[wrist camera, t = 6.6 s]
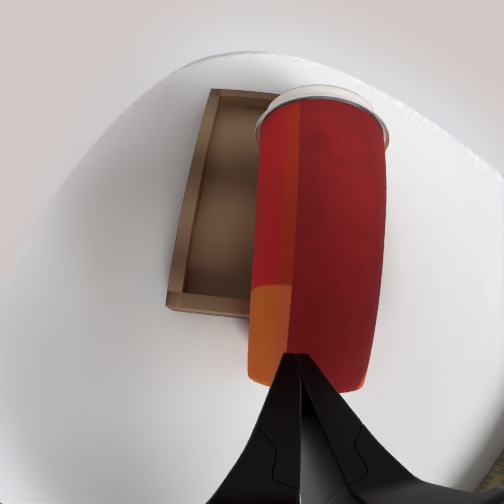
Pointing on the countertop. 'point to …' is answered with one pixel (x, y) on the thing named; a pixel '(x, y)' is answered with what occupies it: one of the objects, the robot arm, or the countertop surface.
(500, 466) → the beverage carton
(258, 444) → the robot arm
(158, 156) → the countertop surface
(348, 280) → the paper cup
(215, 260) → the tray
